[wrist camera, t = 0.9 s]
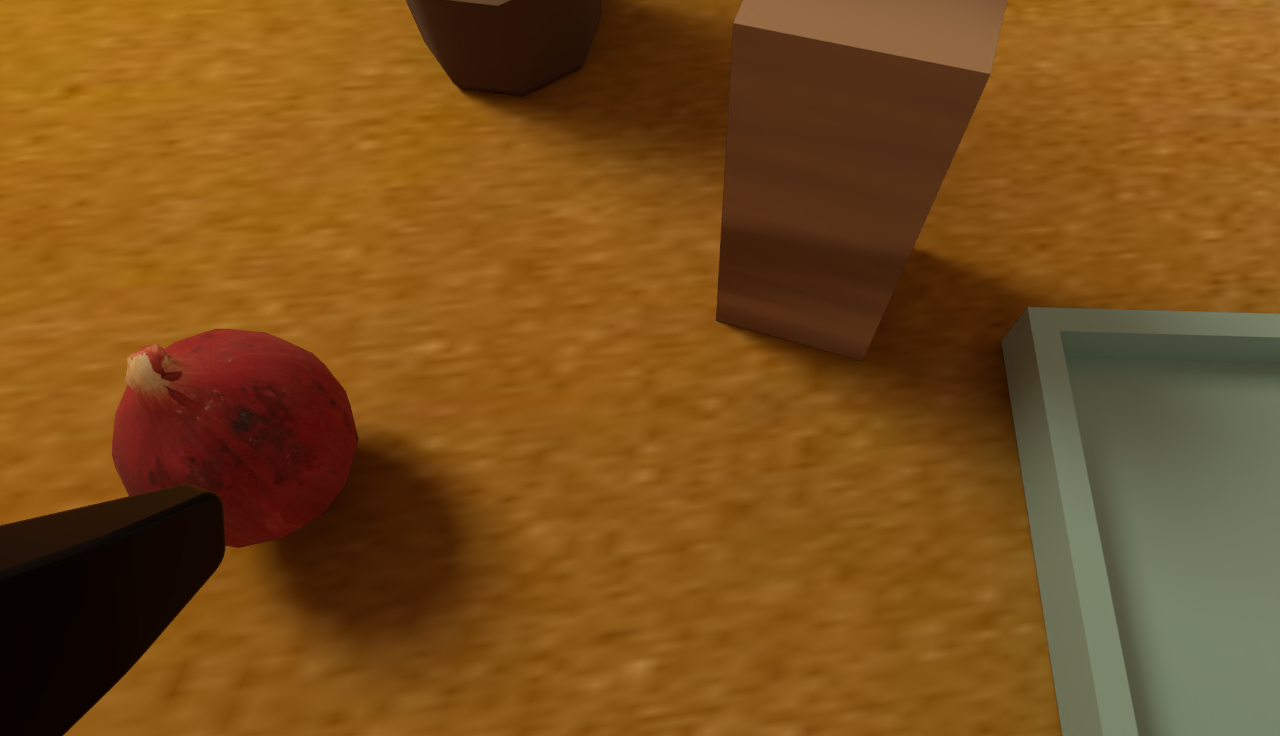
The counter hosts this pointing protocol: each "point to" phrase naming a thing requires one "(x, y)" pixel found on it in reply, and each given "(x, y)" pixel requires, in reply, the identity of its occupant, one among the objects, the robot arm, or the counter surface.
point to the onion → (237, 429)
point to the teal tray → (1154, 514)
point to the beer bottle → (507, 40)
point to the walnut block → (840, 155)
